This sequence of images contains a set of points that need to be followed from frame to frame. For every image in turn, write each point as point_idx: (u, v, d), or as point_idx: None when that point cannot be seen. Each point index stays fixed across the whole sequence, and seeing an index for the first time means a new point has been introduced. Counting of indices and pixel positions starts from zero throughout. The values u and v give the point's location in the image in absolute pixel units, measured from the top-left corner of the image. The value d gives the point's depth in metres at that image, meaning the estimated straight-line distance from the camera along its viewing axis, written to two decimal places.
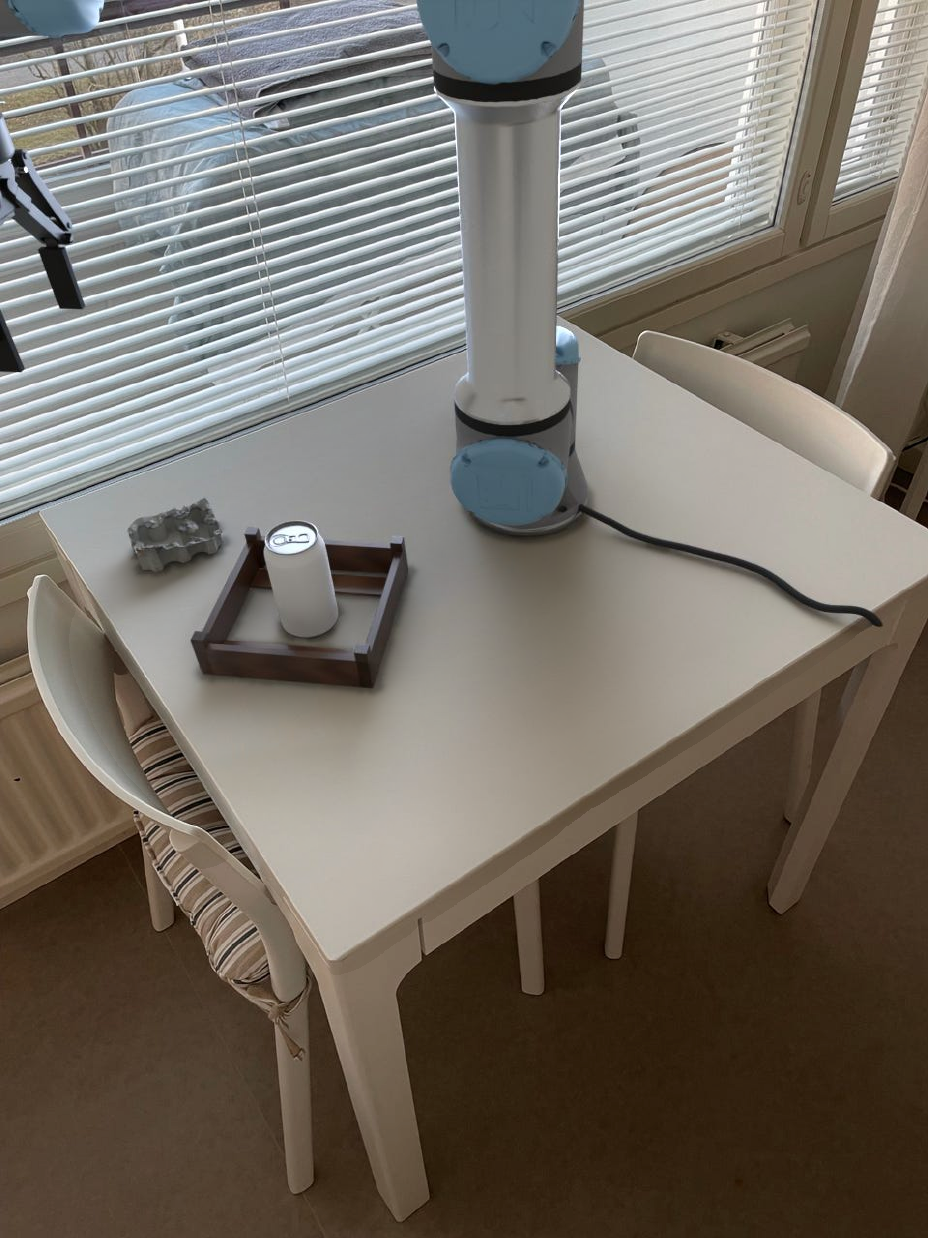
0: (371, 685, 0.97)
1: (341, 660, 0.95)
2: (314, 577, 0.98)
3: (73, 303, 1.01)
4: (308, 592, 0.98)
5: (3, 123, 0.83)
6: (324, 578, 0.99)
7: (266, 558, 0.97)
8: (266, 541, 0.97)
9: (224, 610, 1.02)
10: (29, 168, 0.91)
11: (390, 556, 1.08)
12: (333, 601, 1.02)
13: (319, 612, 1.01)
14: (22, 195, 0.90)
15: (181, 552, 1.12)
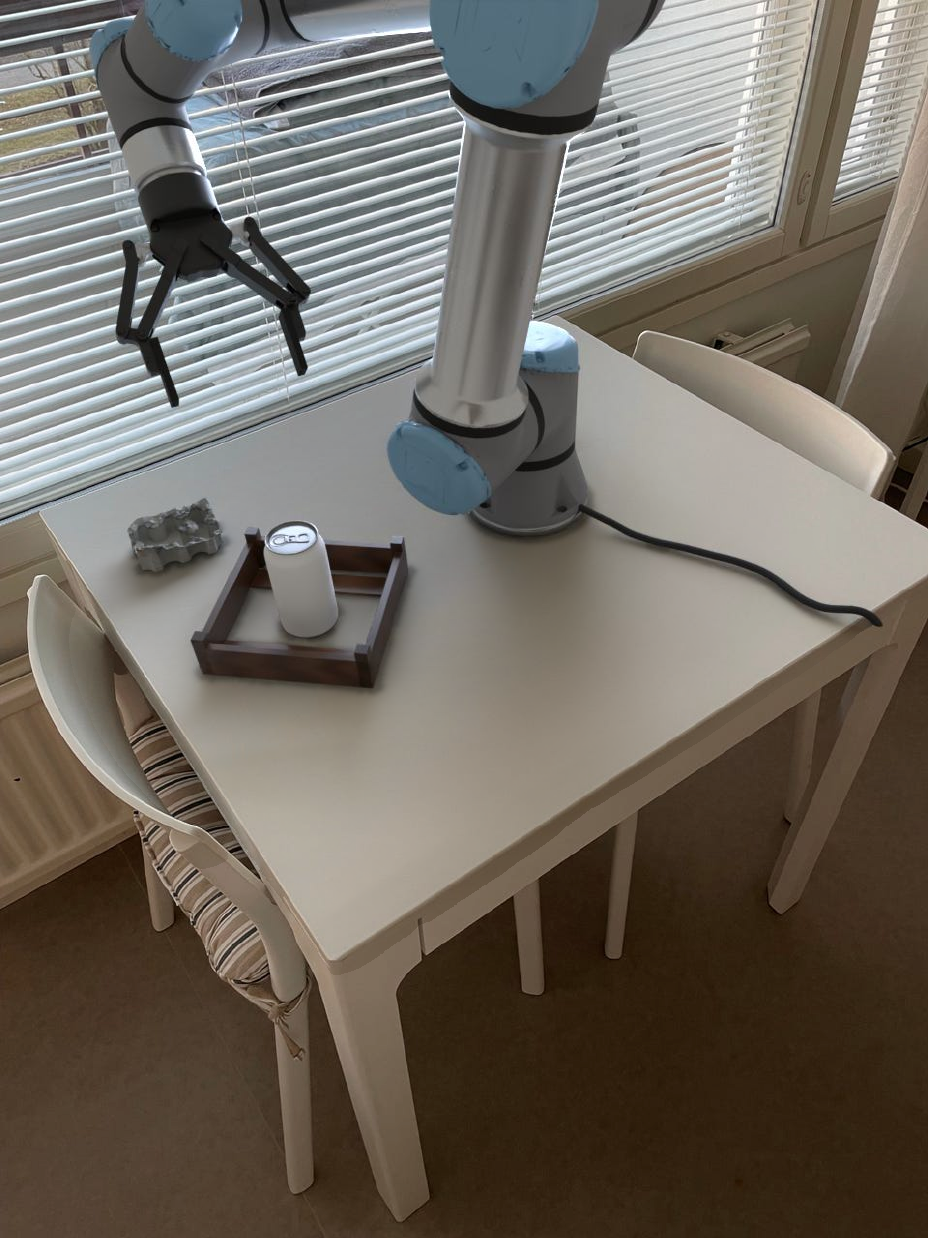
0: (371, 685, 0.97)
1: (341, 660, 0.95)
2: (314, 577, 0.98)
3: (298, 365, 0.98)
4: (308, 592, 0.98)
5: (186, 178, 0.92)
6: (324, 578, 0.99)
7: (266, 558, 0.97)
8: (266, 541, 0.97)
9: (224, 610, 1.02)
10: (252, 233, 0.96)
11: (390, 556, 1.08)
12: (333, 601, 1.02)
13: (319, 612, 1.01)
14: (225, 250, 0.95)
15: (181, 552, 1.12)
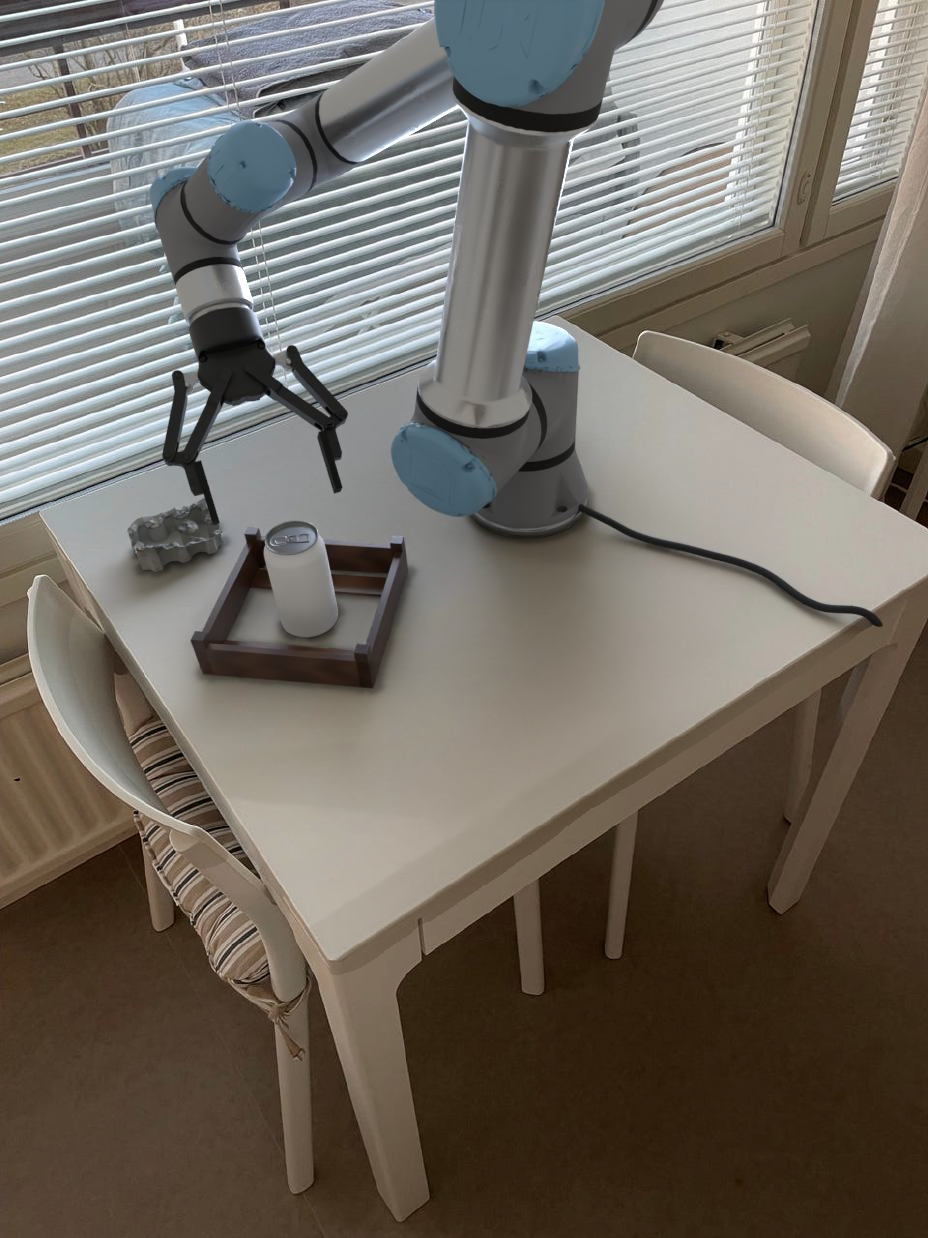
0: (371, 685, 0.97)
1: (341, 660, 0.95)
2: (314, 577, 0.98)
3: (333, 484, 1.02)
4: (308, 592, 0.98)
5: (232, 313, 0.98)
6: (324, 578, 0.99)
7: (266, 558, 0.97)
8: (266, 541, 0.97)
9: (224, 610, 1.02)
10: (294, 360, 1.01)
11: (390, 556, 1.08)
12: (333, 601, 1.02)
13: (319, 612, 1.01)
14: (267, 378, 1.00)
15: (181, 552, 1.12)
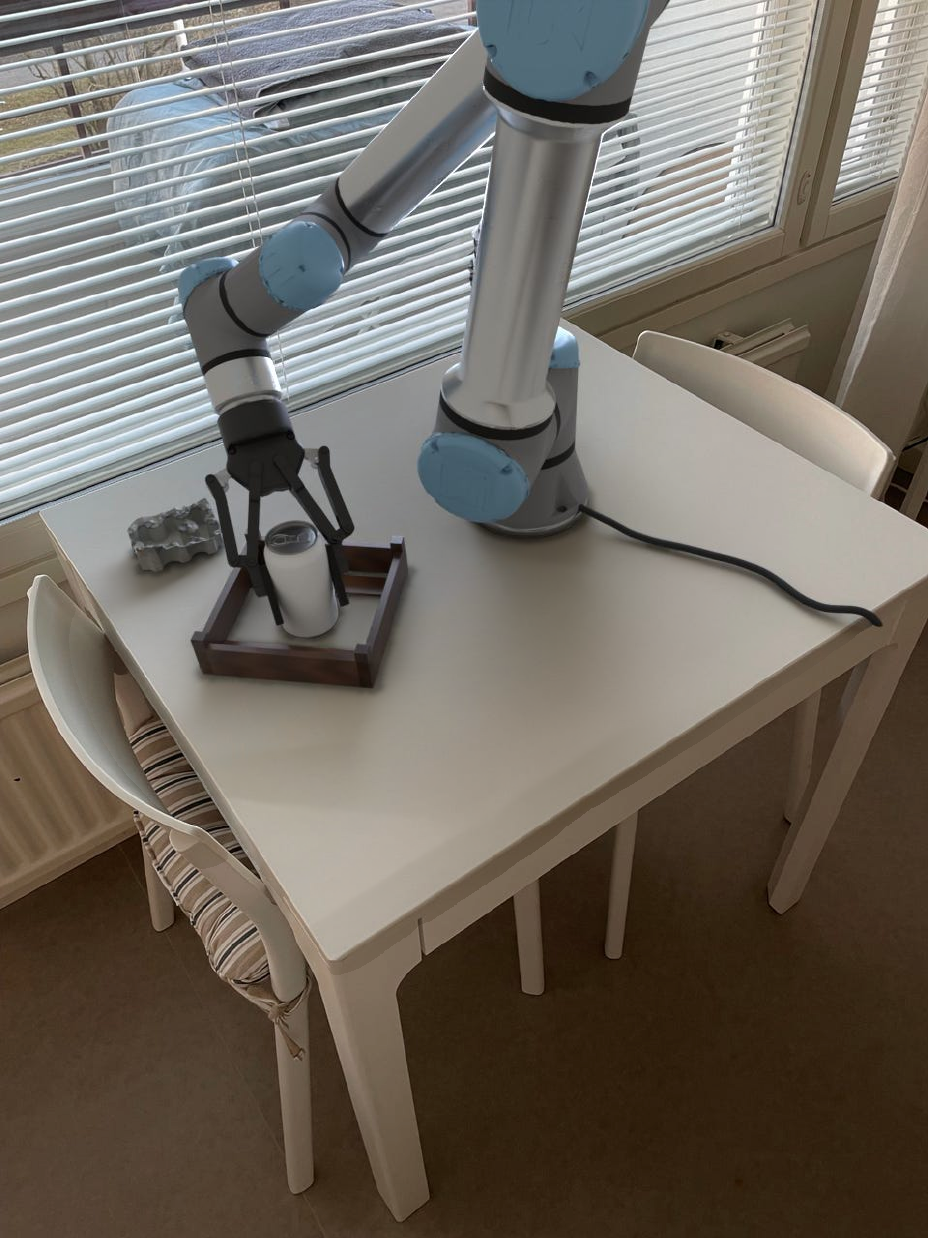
0: (371, 685, 0.97)
1: (341, 660, 0.95)
2: (314, 577, 0.98)
3: (340, 600, 1.00)
4: (308, 592, 0.98)
5: (262, 406, 0.97)
6: (324, 578, 0.99)
7: (266, 558, 0.97)
8: (266, 541, 0.97)
9: (224, 610, 1.02)
10: (322, 461, 1.00)
11: (390, 556, 1.08)
12: (333, 601, 1.02)
13: (319, 612, 1.01)
14: (292, 475, 0.99)
15: (181, 552, 1.12)
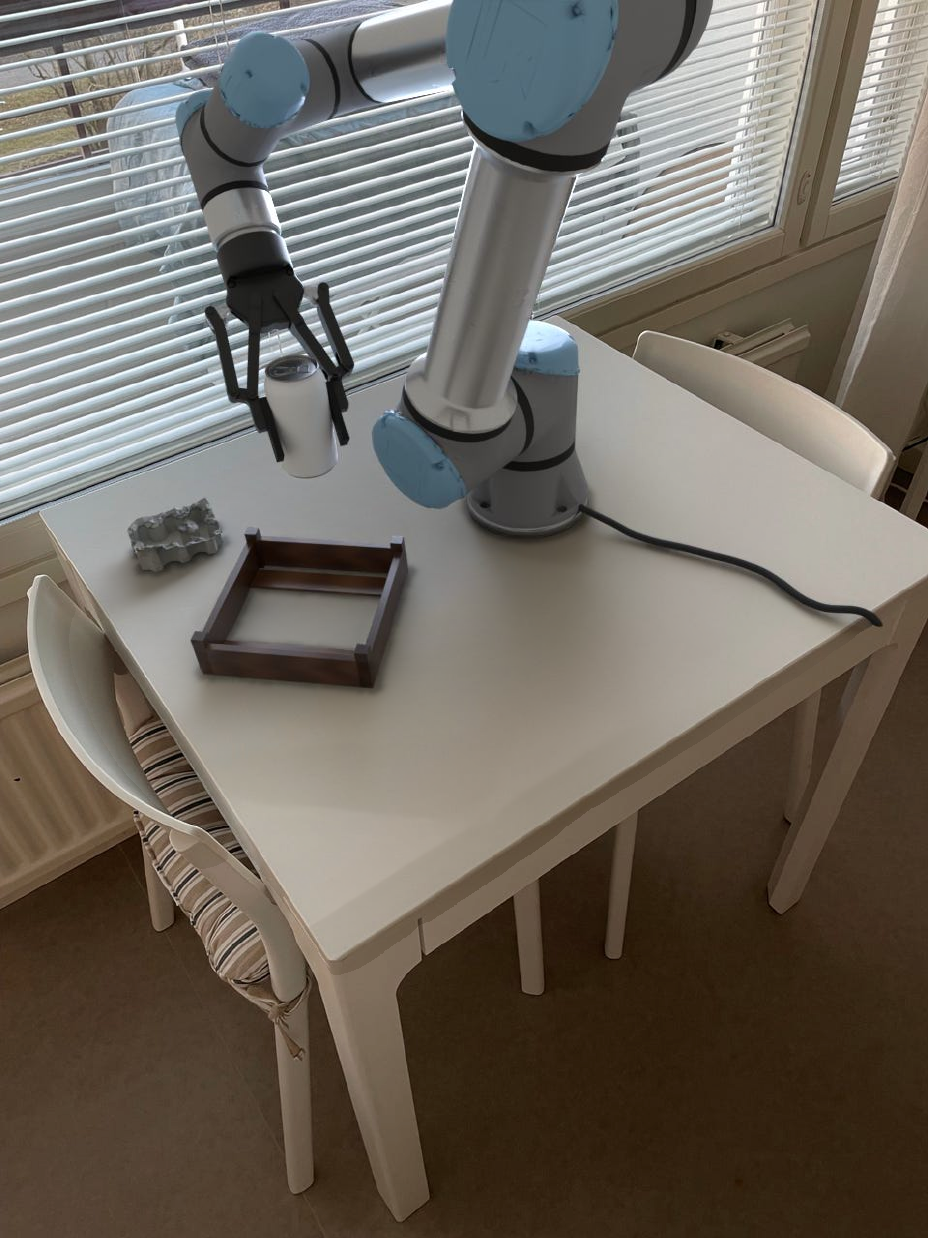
0: (371, 685, 0.97)
1: (341, 660, 0.95)
2: (315, 409, 0.98)
3: (340, 436, 1.01)
4: (308, 425, 0.99)
5: (261, 237, 0.97)
6: (325, 412, 0.99)
7: (266, 389, 0.97)
8: (266, 372, 0.97)
9: (224, 610, 1.02)
10: (321, 297, 1.00)
11: (390, 556, 1.08)
12: (333, 440, 1.03)
13: (320, 450, 1.01)
14: (291, 309, 0.99)
15: (181, 552, 1.12)
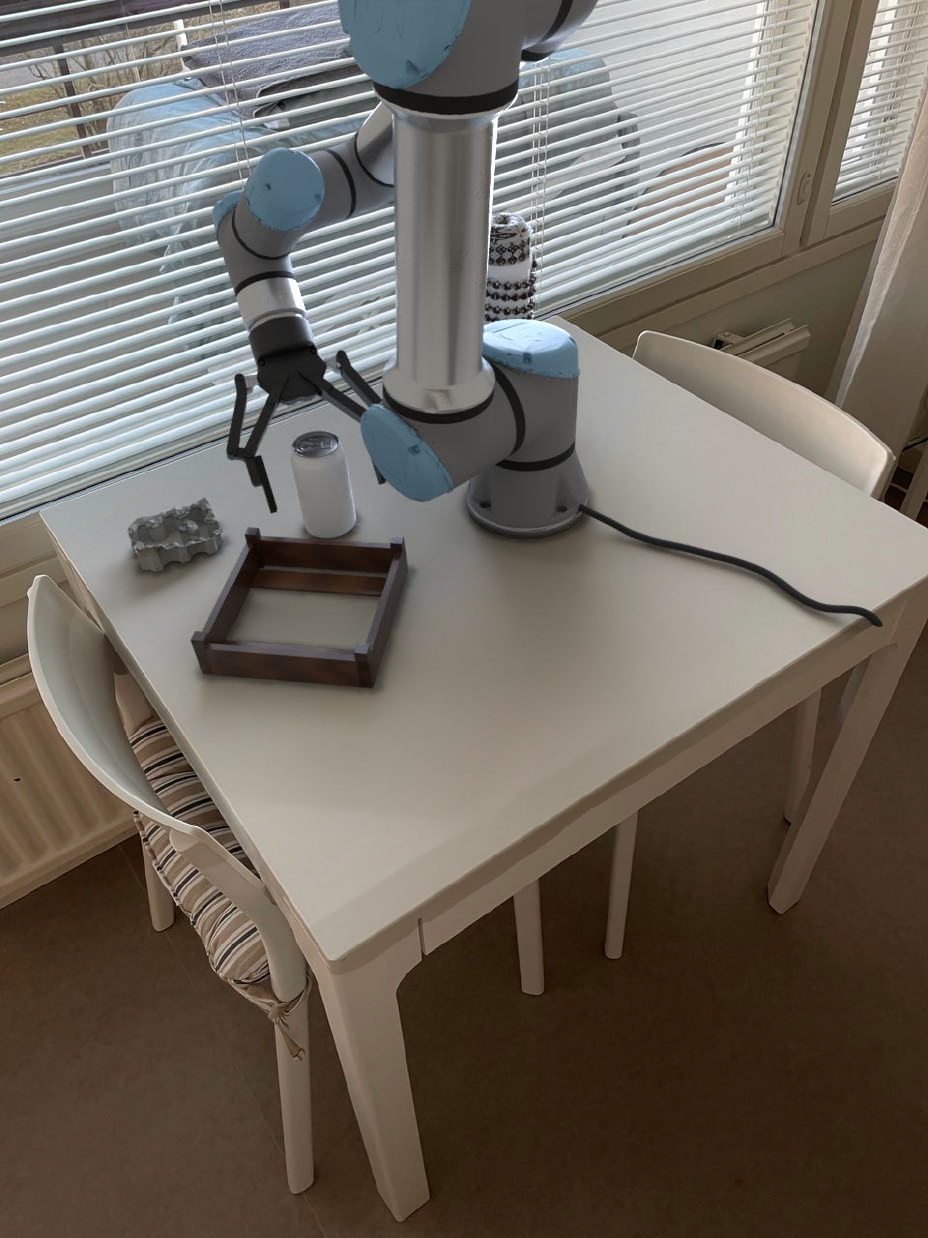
0: (371, 685, 0.97)
1: (341, 660, 0.95)
2: (336, 480, 1.10)
3: (379, 476, 1.13)
4: (330, 494, 1.11)
5: (289, 321, 1.08)
6: (344, 482, 1.11)
7: (293, 462, 1.09)
8: (293, 447, 1.09)
9: (224, 610, 1.02)
10: (343, 364, 1.12)
11: (390, 556, 1.08)
12: (351, 505, 1.15)
13: (340, 514, 1.13)
14: (319, 380, 1.11)
15: (181, 552, 1.12)
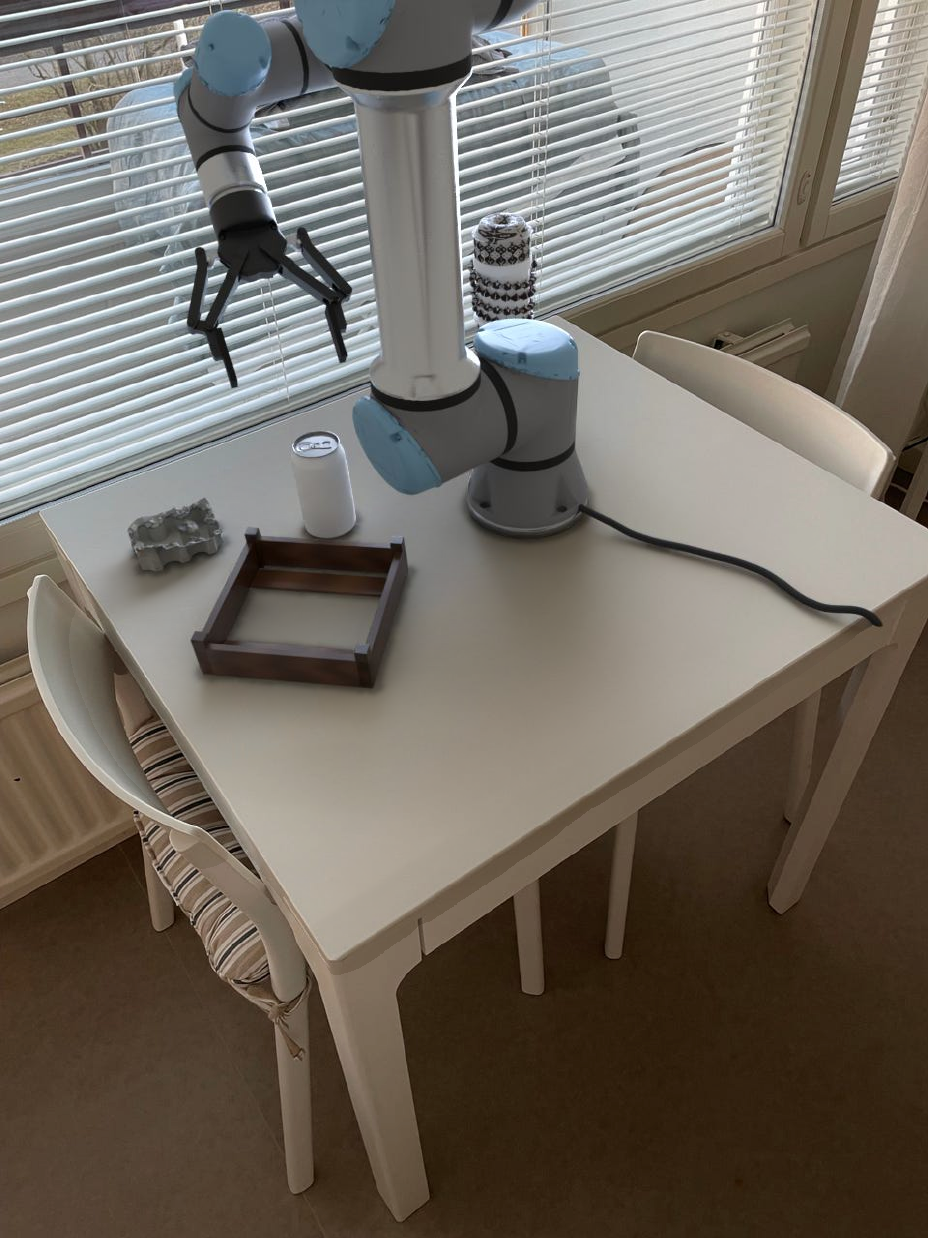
0: (371, 685, 0.97)
1: (341, 660, 0.95)
2: (336, 480, 1.10)
3: (339, 353, 1.14)
4: (330, 494, 1.11)
5: (249, 195, 1.10)
6: (344, 482, 1.11)
7: (293, 462, 1.09)
8: (293, 447, 1.09)
9: (224, 610, 1.02)
10: (304, 241, 1.13)
11: (390, 556, 1.08)
12: (351, 505, 1.15)
13: (340, 514, 1.13)
14: (279, 255, 1.12)
15: (181, 552, 1.12)
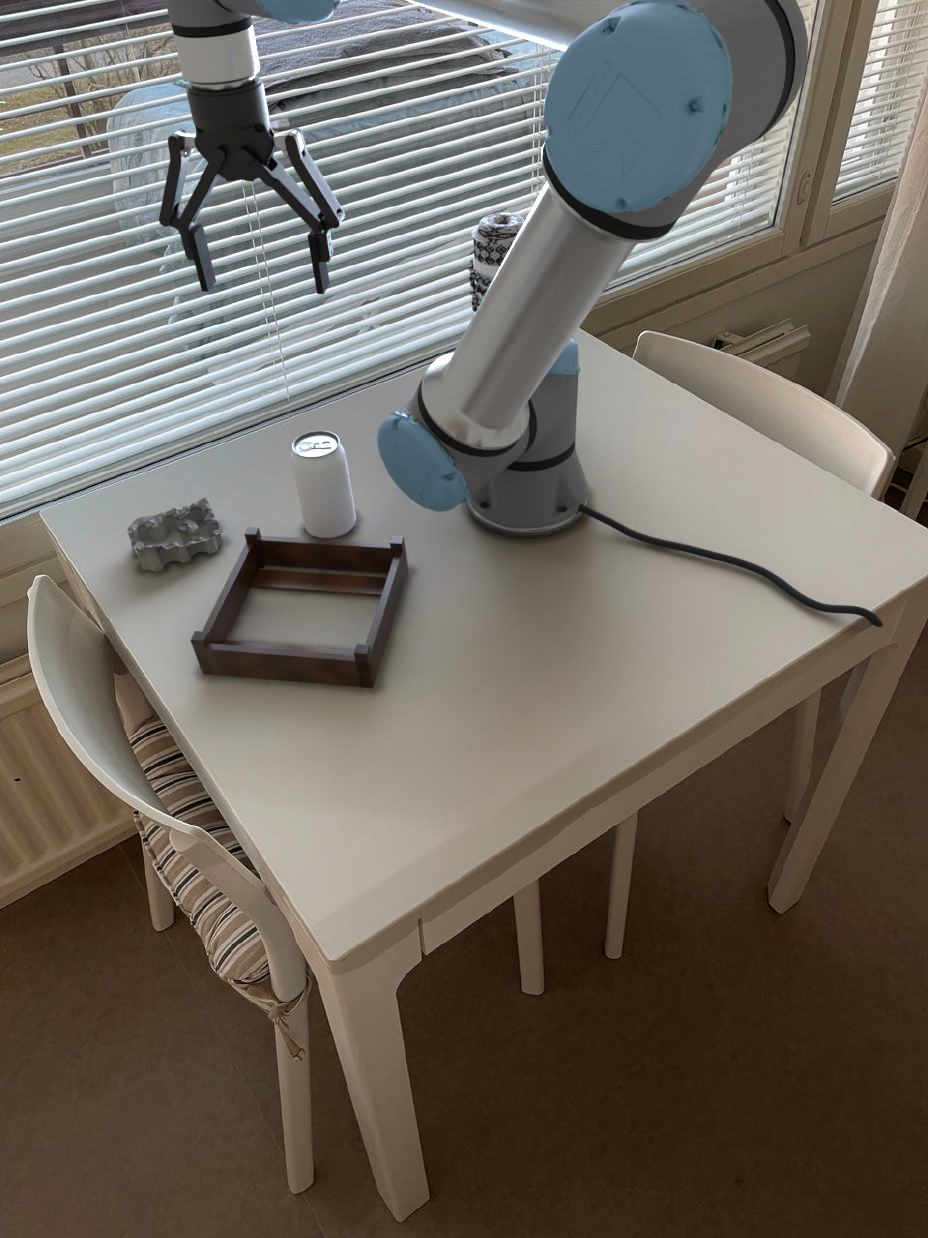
0: (371, 685, 0.97)
1: (341, 660, 0.95)
2: (336, 480, 1.10)
3: None
4: (330, 494, 1.11)
5: (222, 101, 0.89)
6: (344, 482, 1.11)
7: (293, 462, 1.09)
8: (293, 447, 1.09)
9: (224, 610, 1.02)
10: (291, 154, 0.94)
11: (390, 556, 1.08)
12: (351, 505, 1.15)
13: (340, 514, 1.13)
14: (260, 169, 0.95)
15: (181, 552, 1.12)
